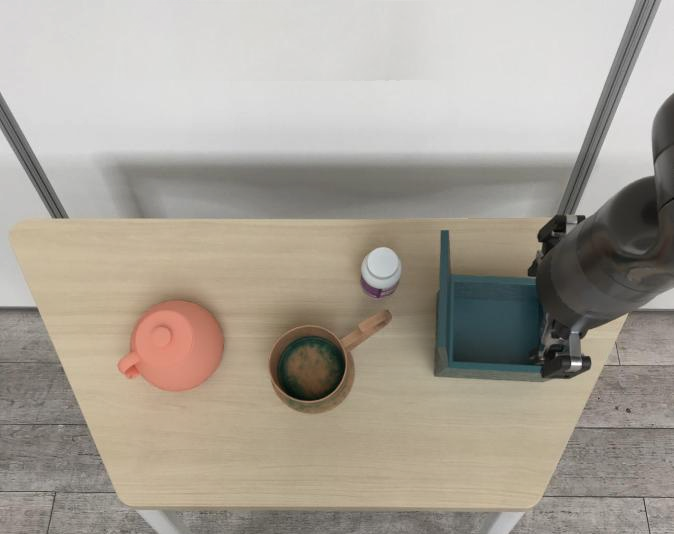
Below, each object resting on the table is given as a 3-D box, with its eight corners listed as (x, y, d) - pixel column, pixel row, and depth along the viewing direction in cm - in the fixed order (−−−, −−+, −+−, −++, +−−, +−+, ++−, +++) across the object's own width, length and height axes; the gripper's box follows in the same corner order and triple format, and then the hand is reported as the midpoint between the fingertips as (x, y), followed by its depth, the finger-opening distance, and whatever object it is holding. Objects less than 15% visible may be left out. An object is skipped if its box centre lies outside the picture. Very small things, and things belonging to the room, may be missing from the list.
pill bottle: (385, 307, 86) (389, 290, 76) (353, 288, 86) (353, 269, 77) (405, 275, 86) (412, 255, 77) (373, 256, 87) (375, 234, 77)
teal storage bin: (543, 298, 85) (567, 279, 76) (543, 382, 83) (568, 374, 74) (436, 293, 86) (447, 274, 76) (434, 376, 84) (445, 368, 74)
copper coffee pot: (407, 363, 84) (417, 350, 72) (297, 429, 83) (288, 428, 71) (364, 293, 86) (366, 270, 74) (255, 357, 85) (240, 344, 73)
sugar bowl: (242, 364, 85) (228, 353, 75) (153, 416, 84) (126, 412, 74) (200, 290, 87) (180, 270, 76) (113, 340, 86) (81, 326, 76)
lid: (448, 229, 60) (440, 229, 61) (446, 347, 58) (437, 347, 59) (451, 273, 75) (444, 273, 76) (449, 368, 73) (442, 367, 74)
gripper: (657, 365, 45) (577, 385, 61) (647, 182, 47) (572, 247, 63) (554, 362, 45) (501, 382, 61) (549, 180, 48) (499, 246, 64)
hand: (537, 314), depth 62 cm, fingers open, 8 cm apart
